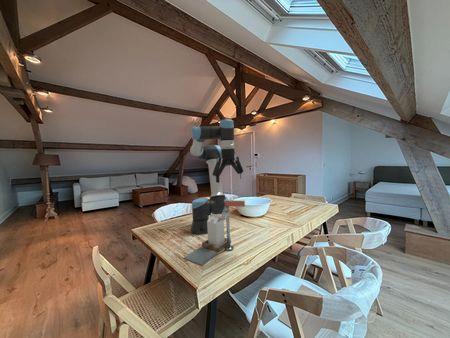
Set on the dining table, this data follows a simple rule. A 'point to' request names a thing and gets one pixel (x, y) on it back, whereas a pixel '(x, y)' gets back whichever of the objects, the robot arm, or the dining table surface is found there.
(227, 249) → the base
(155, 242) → the dining table surface
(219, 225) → the milk carton
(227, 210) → the signpost
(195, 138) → the robot arm
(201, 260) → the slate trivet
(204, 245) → the frame
